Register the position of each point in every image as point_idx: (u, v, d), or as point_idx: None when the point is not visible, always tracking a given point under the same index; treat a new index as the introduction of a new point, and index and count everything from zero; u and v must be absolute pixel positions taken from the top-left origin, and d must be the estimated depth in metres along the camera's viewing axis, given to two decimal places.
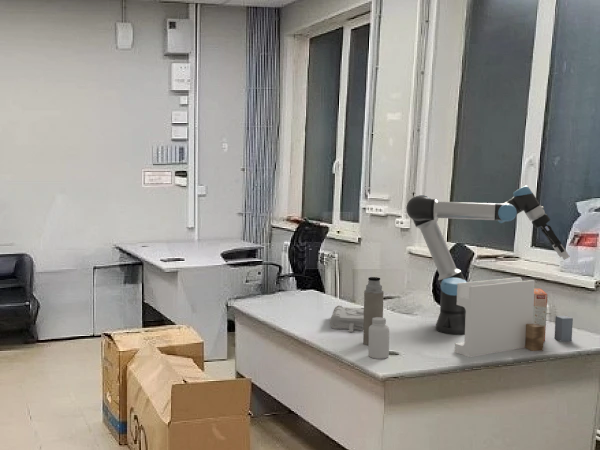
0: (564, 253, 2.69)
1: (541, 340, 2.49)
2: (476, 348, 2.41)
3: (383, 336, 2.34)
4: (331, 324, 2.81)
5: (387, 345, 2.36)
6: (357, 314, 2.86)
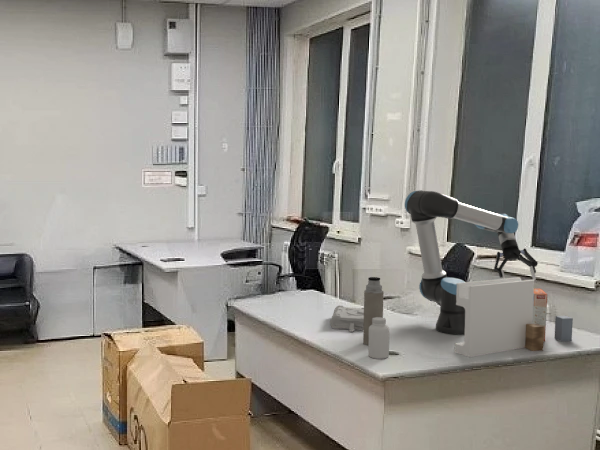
0: None
1: (541, 340, 2.49)
2: (476, 347, 2.41)
3: (383, 336, 2.34)
4: (332, 324, 2.81)
5: (387, 345, 2.36)
6: (358, 314, 2.86)
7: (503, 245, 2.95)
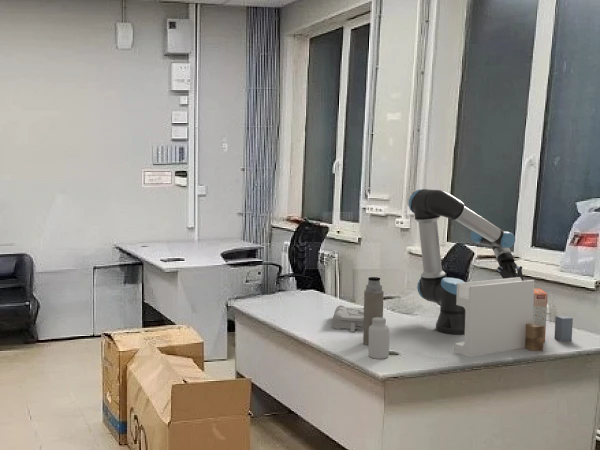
0: None
1: (541, 340, 2.49)
2: (476, 348, 2.41)
3: (383, 336, 2.34)
4: (333, 324, 2.81)
5: (387, 345, 2.36)
6: (359, 314, 2.86)
7: (501, 257, 2.97)
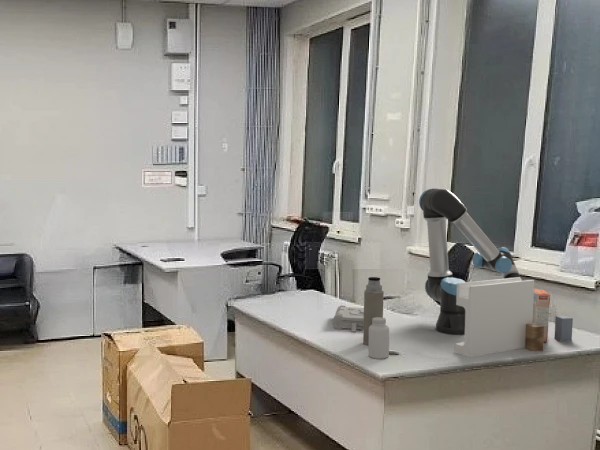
0: None
1: (541, 340, 2.49)
2: (476, 348, 2.41)
3: (383, 336, 2.34)
4: (334, 324, 2.81)
5: (387, 345, 2.36)
6: (360, 314, 2.86)
7: (508, 277, 2.88)
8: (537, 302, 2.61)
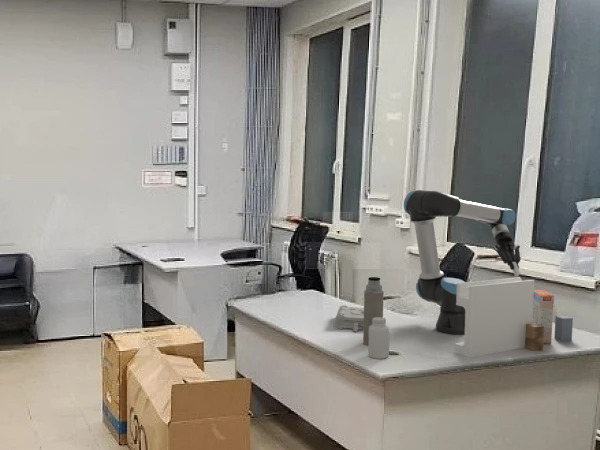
0: None
1: (541, 340, 2.49)
2: (476, 348, 2.41)
3: (383, 336, 2.34)
4: (335, 324, 2.81)
5: (387, 345, 2.36)
6: (362, 314, 2.86)
7: (498, 236, 2.98)
8: (541, 303, 2.59)
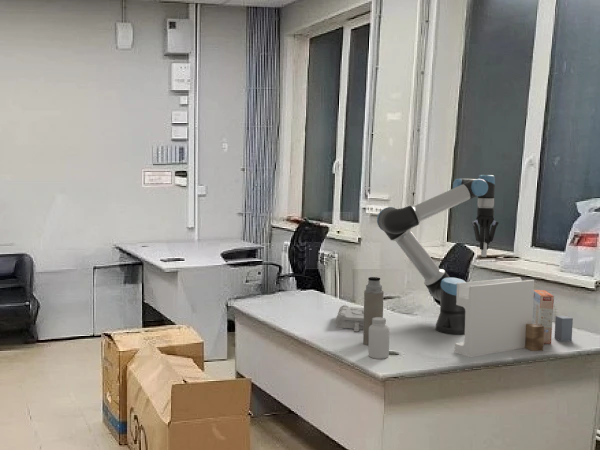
0: None
1: (541, 340, 2.49)
2: (476, 348, 2.41)
3: (383, 336, 2.34)
4: (336, 324, 2.82)
5: (387, 345, 2.36)
6: (362, 314, 2.87)
7: (481, 212, 2.89)
8: (541, 303, 2.59)
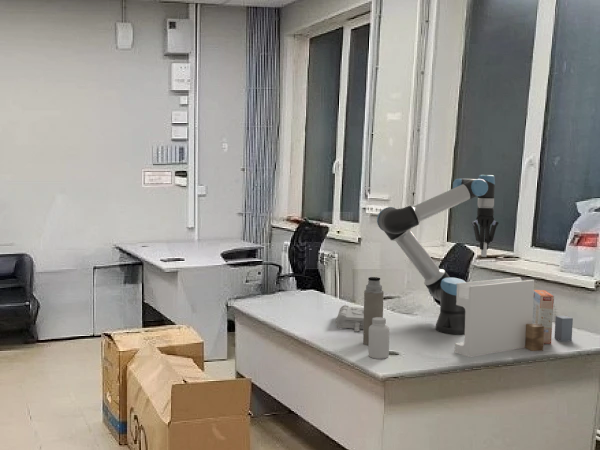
0: None
1: (541, 340, 2.49)
2: (476, 348, 2.41)
3: (383, 336, 2.34)
4: (337, 324, 2.82)
5: (387, 345, 2.36)
6: (363, 314, 2.87)
7: (481, 212, 2.89)
8: (541, 303, 2.59)
